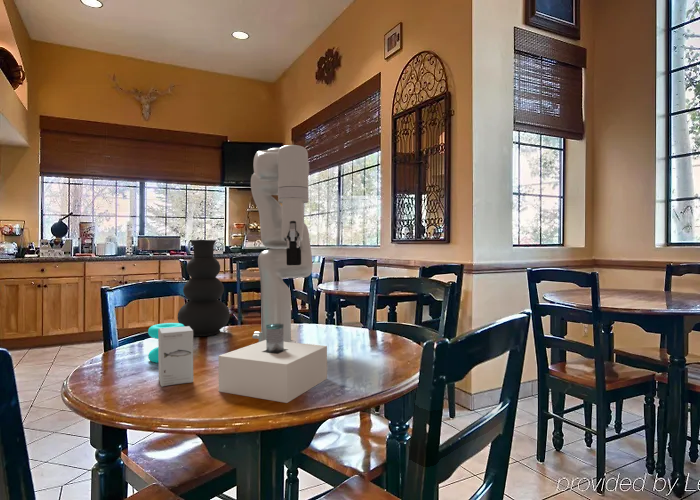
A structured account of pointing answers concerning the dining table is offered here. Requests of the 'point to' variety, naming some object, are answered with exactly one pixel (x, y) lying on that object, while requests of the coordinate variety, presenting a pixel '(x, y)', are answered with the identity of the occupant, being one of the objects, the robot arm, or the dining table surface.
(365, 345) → the dining table surface
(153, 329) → the donuts
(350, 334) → the dining table surface
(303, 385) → the block
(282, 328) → the peg
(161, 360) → the supplement box
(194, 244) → the vase
